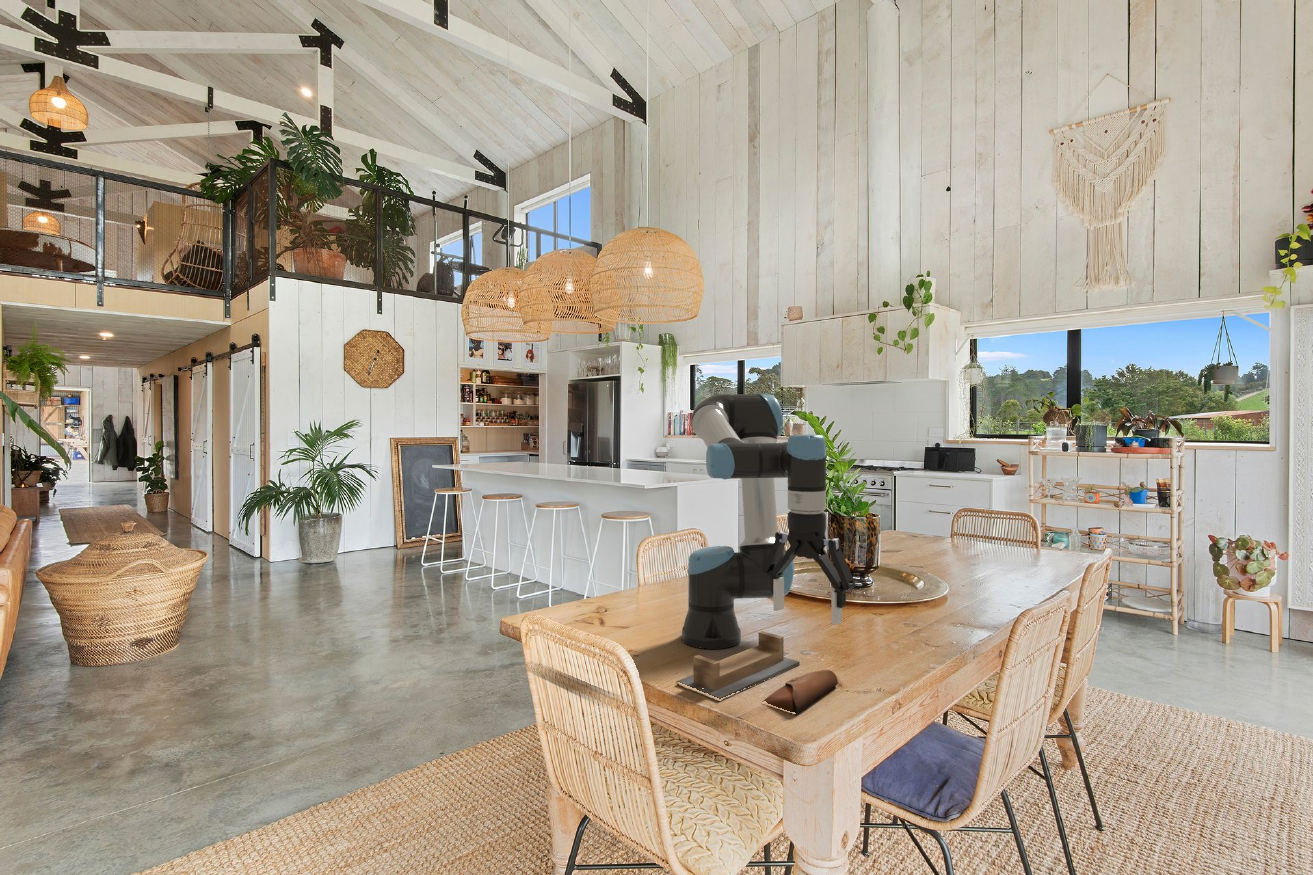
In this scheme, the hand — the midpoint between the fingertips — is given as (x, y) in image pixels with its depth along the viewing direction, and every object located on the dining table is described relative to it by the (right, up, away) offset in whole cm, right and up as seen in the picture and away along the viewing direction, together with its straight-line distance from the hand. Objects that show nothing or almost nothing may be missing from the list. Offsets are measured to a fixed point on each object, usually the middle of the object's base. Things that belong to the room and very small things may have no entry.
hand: (806, 616), depth 133 cm
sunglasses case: (-1, -17, +2) cm, 17 cm away
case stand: (-12, -16, +13) cm, 24 cm away
